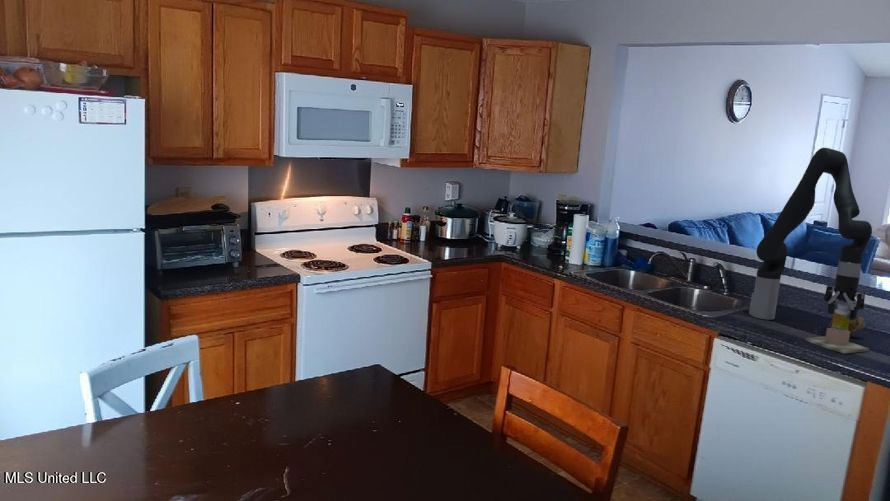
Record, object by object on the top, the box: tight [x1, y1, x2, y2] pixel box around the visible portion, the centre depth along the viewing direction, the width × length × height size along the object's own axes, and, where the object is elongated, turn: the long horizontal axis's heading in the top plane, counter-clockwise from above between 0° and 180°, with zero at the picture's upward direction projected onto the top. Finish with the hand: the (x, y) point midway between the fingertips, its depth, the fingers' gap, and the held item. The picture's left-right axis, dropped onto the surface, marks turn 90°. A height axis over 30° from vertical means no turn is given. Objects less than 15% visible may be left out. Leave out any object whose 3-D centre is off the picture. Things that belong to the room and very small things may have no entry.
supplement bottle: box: [831, 303, 851, 332], centre depth 264 cm, size 5×5×10 cm
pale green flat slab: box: [804, 336, 870, 354], centre depth 266 cm, size 16×14×1 cm
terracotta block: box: [825, 327, 850, 345], centre depth 266 cm, size 5×6×5 cm
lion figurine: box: [823, 316, 866, 339], centre depth 282 cm, size 15×5×9 cm, turn 36°
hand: (841, 316), depth 265 cm, fingers open, 8 cm apart
